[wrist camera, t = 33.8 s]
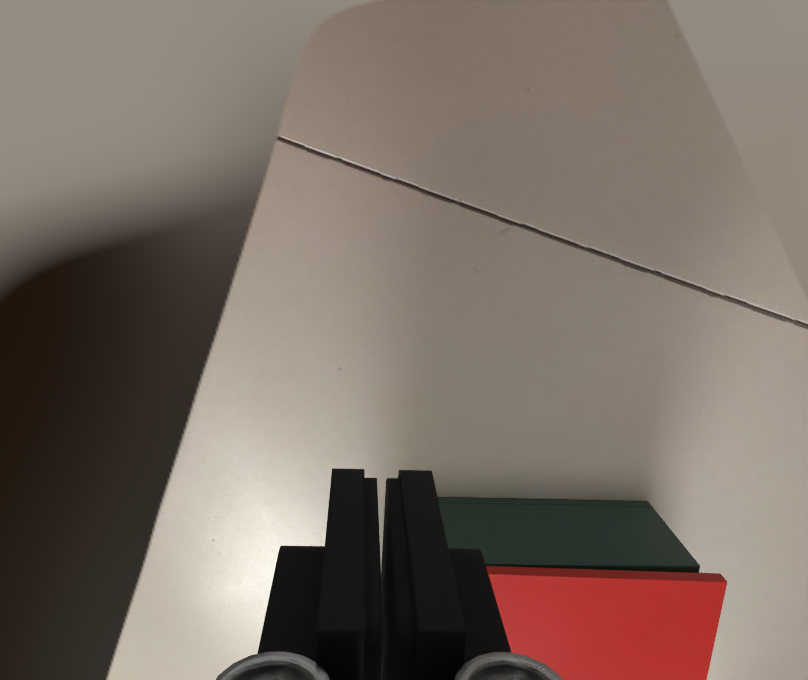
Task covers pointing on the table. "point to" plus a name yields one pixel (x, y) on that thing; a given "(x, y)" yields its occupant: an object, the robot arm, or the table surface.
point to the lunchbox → (565, 534)
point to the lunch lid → (611, 620)
